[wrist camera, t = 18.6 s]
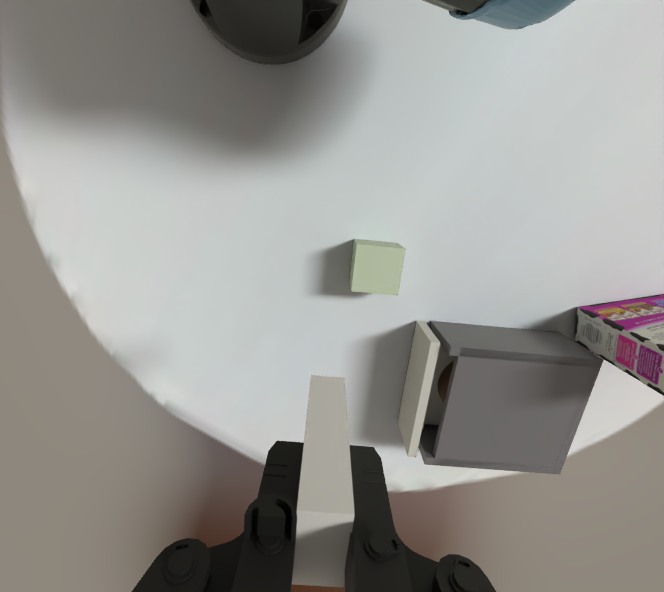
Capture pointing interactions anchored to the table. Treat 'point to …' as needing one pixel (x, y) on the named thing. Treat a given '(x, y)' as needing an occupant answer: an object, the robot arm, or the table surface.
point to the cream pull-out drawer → (422, 387)
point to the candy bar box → (627, 336)
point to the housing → (509, 398)
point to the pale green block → (376, 267)
